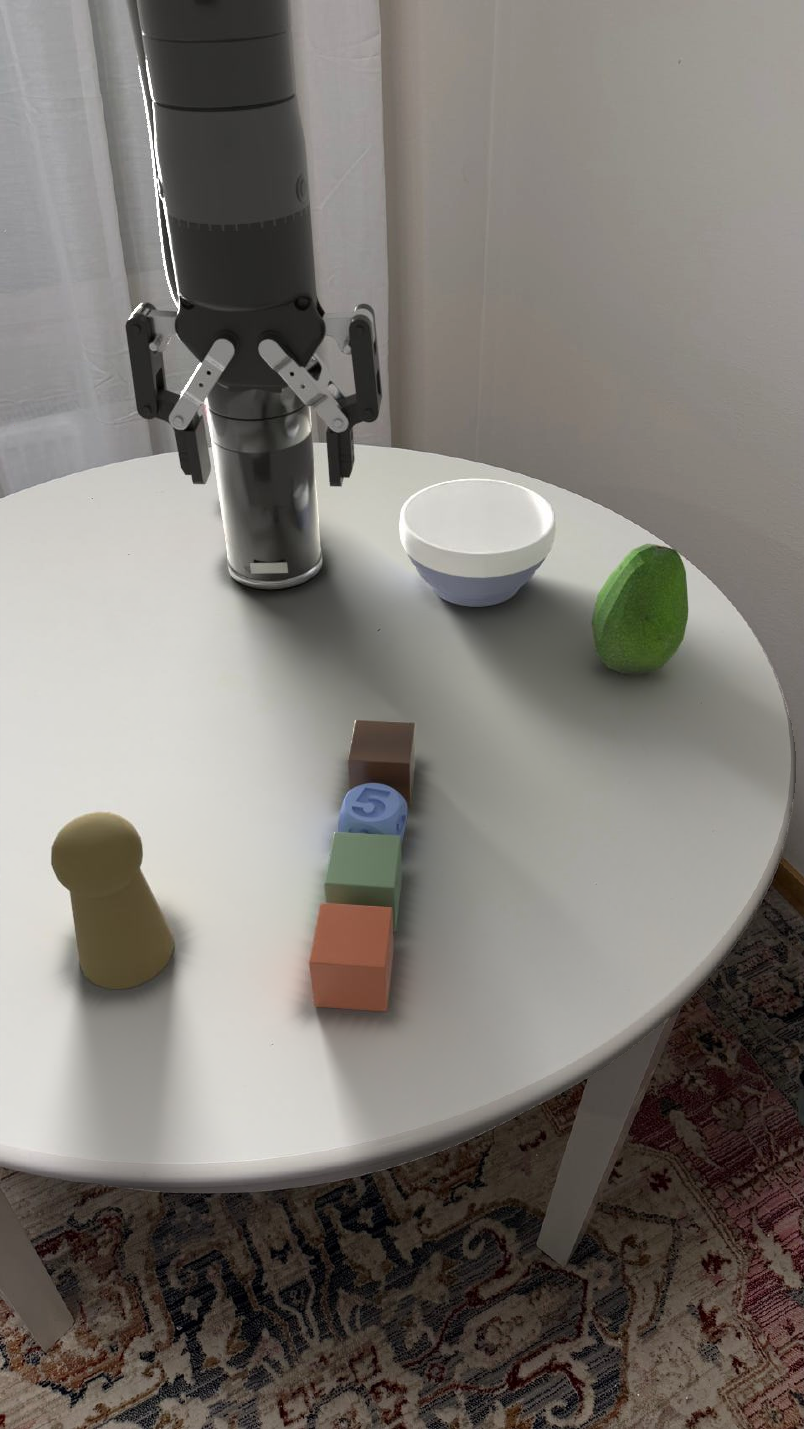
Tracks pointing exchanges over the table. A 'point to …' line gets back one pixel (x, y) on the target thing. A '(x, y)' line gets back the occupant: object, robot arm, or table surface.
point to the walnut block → (383, 755)
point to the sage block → (365, 871)
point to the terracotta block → (352, 957)
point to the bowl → (477, 538)
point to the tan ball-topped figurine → (111, 901)
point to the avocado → (642, 611)
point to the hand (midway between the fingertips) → (269, 479)
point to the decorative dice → (373, 811)
